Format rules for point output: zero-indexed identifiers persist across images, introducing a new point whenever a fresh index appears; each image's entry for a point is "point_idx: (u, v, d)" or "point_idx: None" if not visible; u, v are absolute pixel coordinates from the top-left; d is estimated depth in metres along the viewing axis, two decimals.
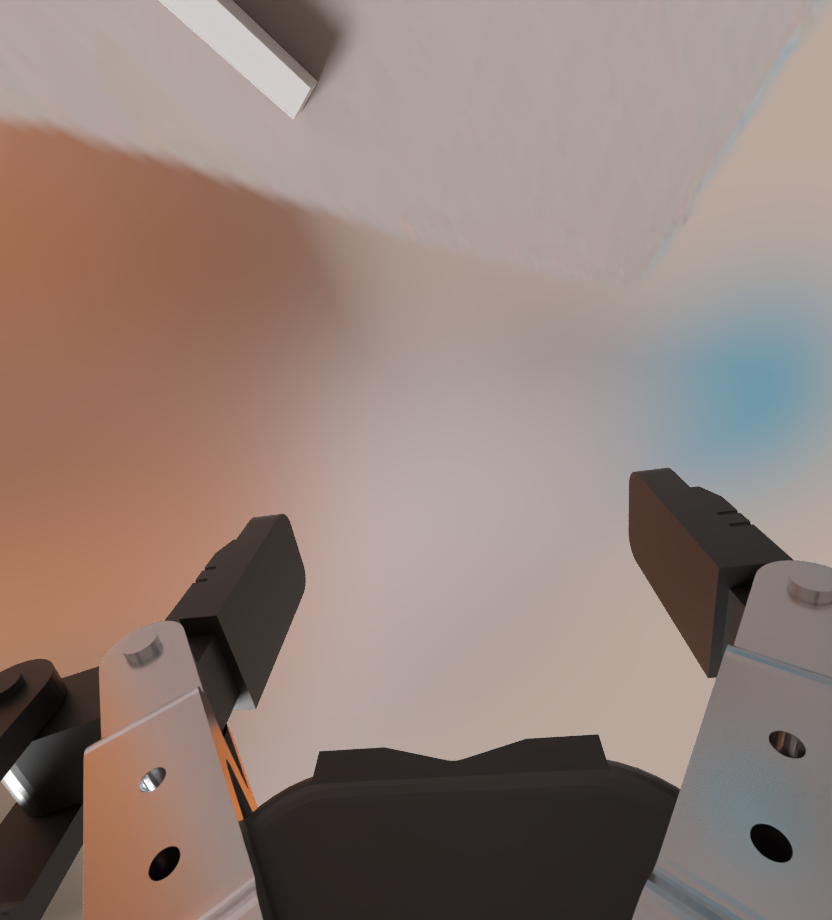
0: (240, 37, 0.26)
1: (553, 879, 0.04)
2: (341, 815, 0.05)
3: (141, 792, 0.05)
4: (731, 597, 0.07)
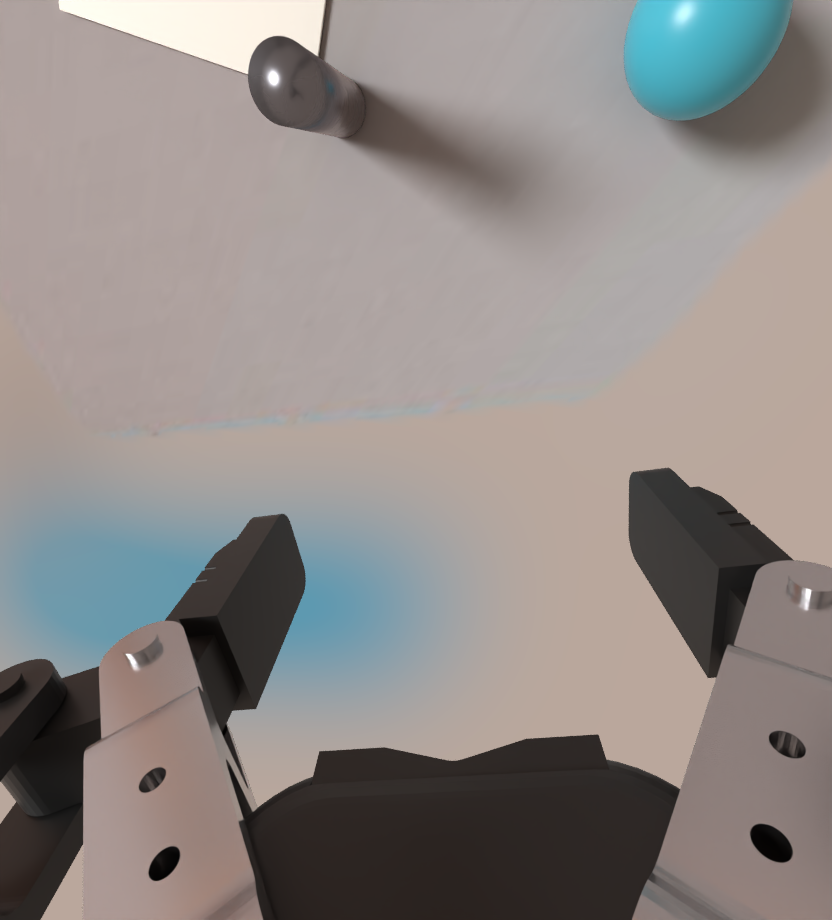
0: None
1: (553, 879, 0.04)
2: (341, 815, 0.05)
3: (141, 791, 0.05)
4: (731, 597, 0.07)
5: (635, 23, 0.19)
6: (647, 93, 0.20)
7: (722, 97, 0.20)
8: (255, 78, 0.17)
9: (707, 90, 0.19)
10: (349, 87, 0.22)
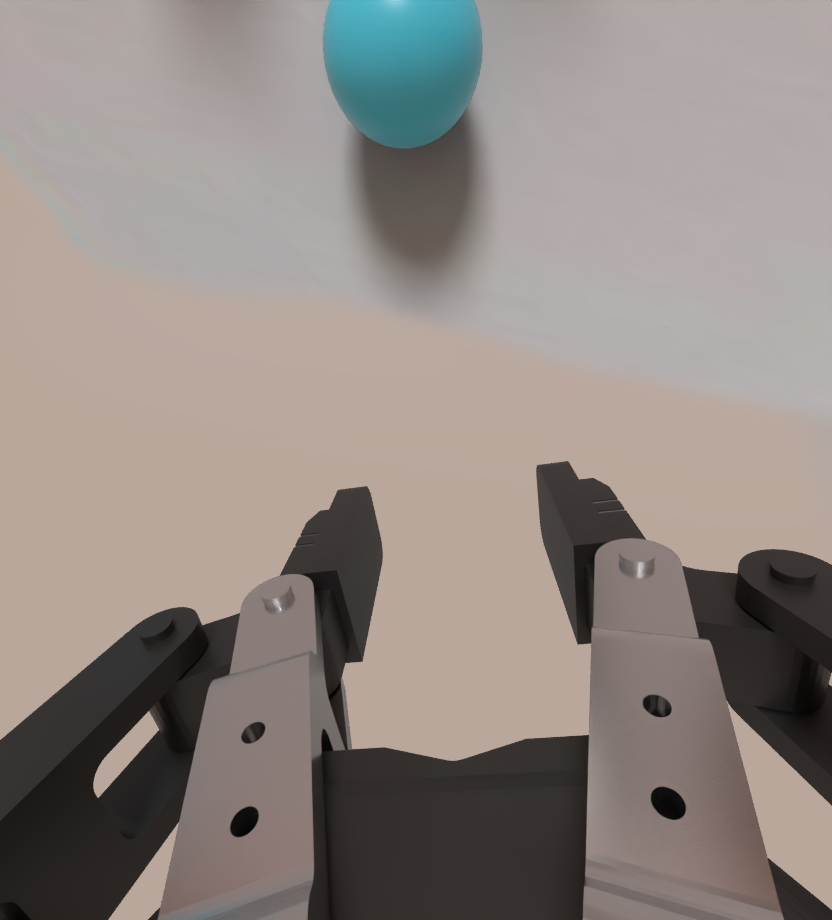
0: None
1: (553, 879, 0.04)
2: (341, 815, 0.05)
3: (242, 740, 0.05)
4: (587, 571, 0.08)
5: None
6: (325, 16, 0.17)
7: (352, 100, 0.18)
8: None
9: (344, 67, 0.17)
10: None
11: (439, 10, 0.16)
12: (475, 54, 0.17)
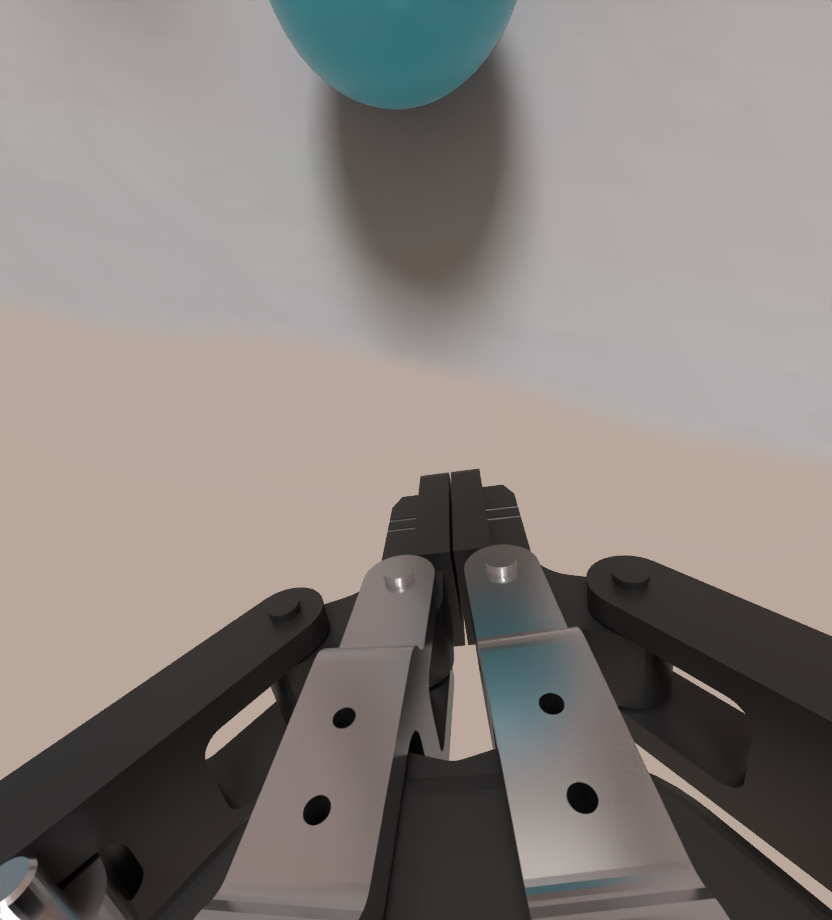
0: None
1: None
2: None
3: (333, 721, 0.05)
4: None
5: None
6: None
7: (303, 16, 0.10)
8: None
9: None
10: None
11: None
12: None
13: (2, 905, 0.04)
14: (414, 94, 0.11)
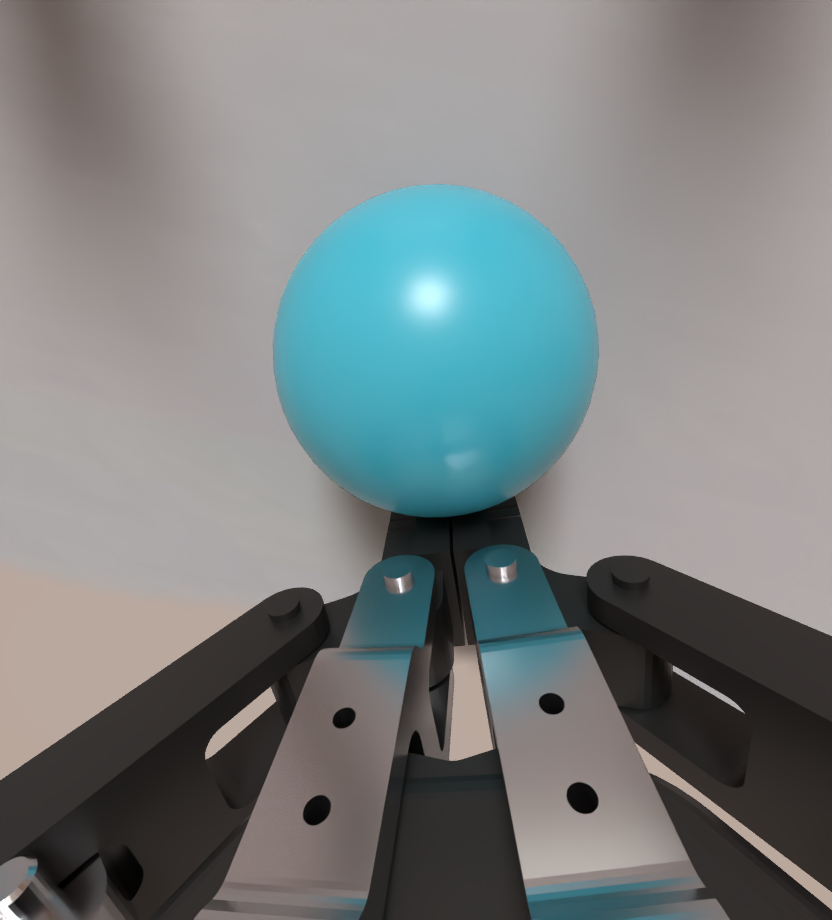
0: None
1: None
2: None
3: (334, 721, 0.05)
4: None
5: (380, 196, 0.08)
6: (278, 310, 0.08)
7: (327, 473, 0.09)
8: None
9: (309, 438, 0.08)
10: None
11: (531, 383, 0.07)
12: (585, 412, 0.08)
13: (2, 905, 0.04)
14: None
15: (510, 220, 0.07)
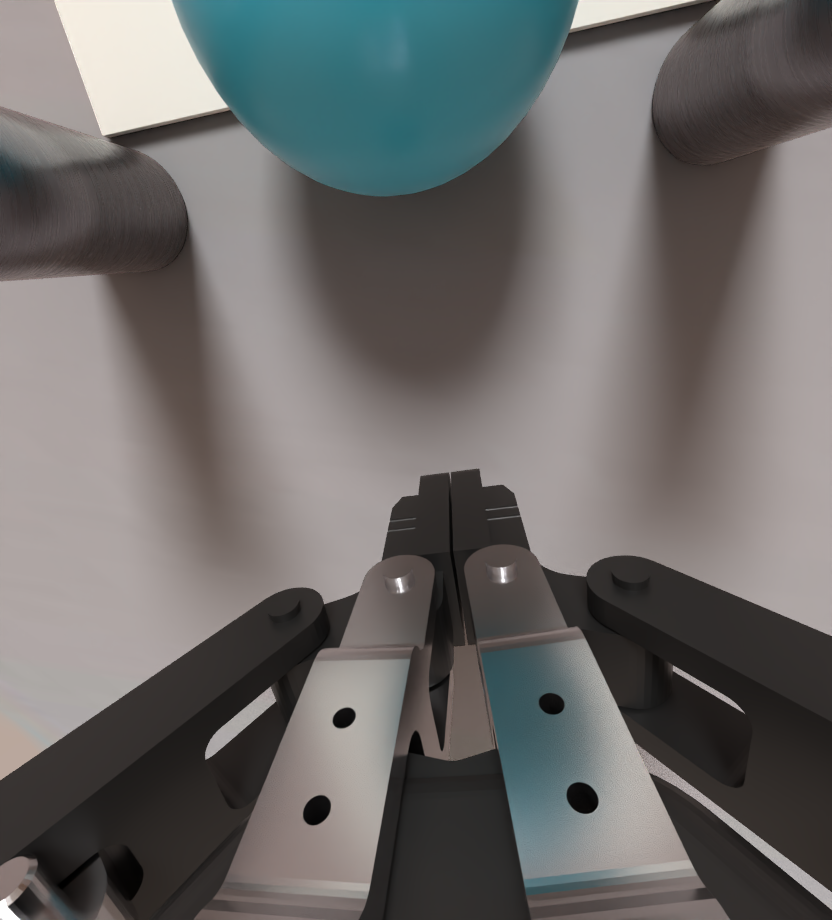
0: None
1: None
2: None
3: (333, 721, 0.05)
4: None
5: (341, 50, 0.06)
6: (183, 11, 0.06)
7: None
8: None
9: None
10: (85, 254, 0.09)
11: None
12: None
13: (2, 905, 0.04)
14: None
15: (467, 145, 0.07)
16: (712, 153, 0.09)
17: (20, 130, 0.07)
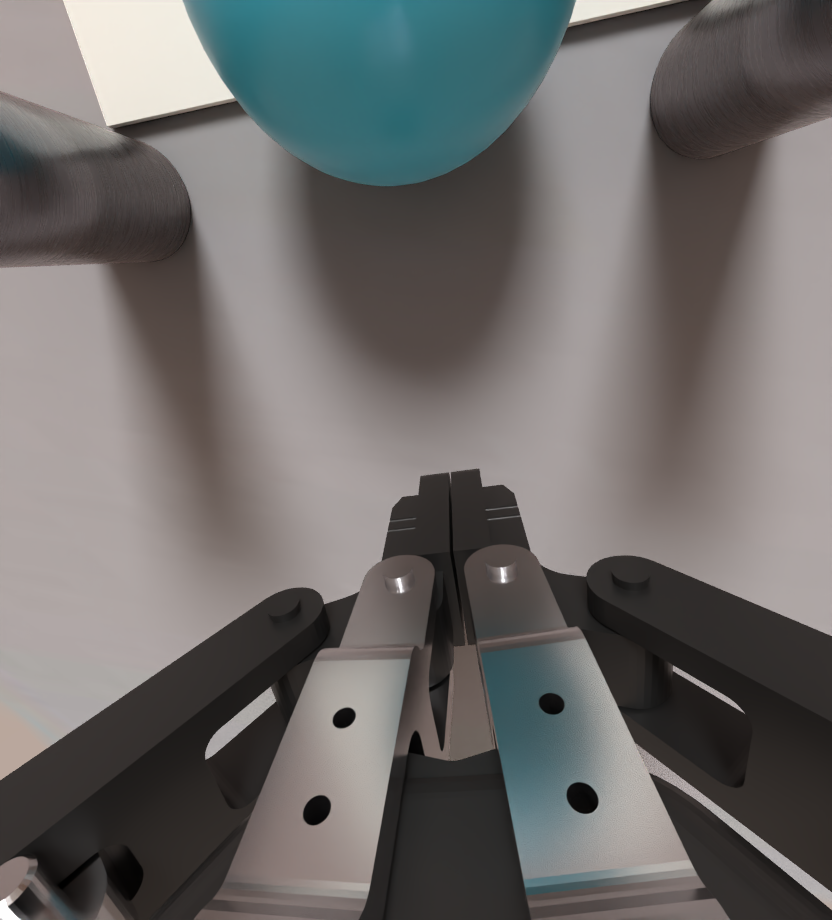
0: None
1: None
2: None
3: (334, 721, 0.05)
4: None
5: (345, 39, 0.06)
6: (190, 0, 0.06)
7: None
8: None
9: None
10: (91, 242, 0.09)
11: None
12: None
13: (2, 905, 0.04)
14: None
15: (468, 135, 0.07)
16: (709, 146, 0.09)
17: (28, 117, 0.07)
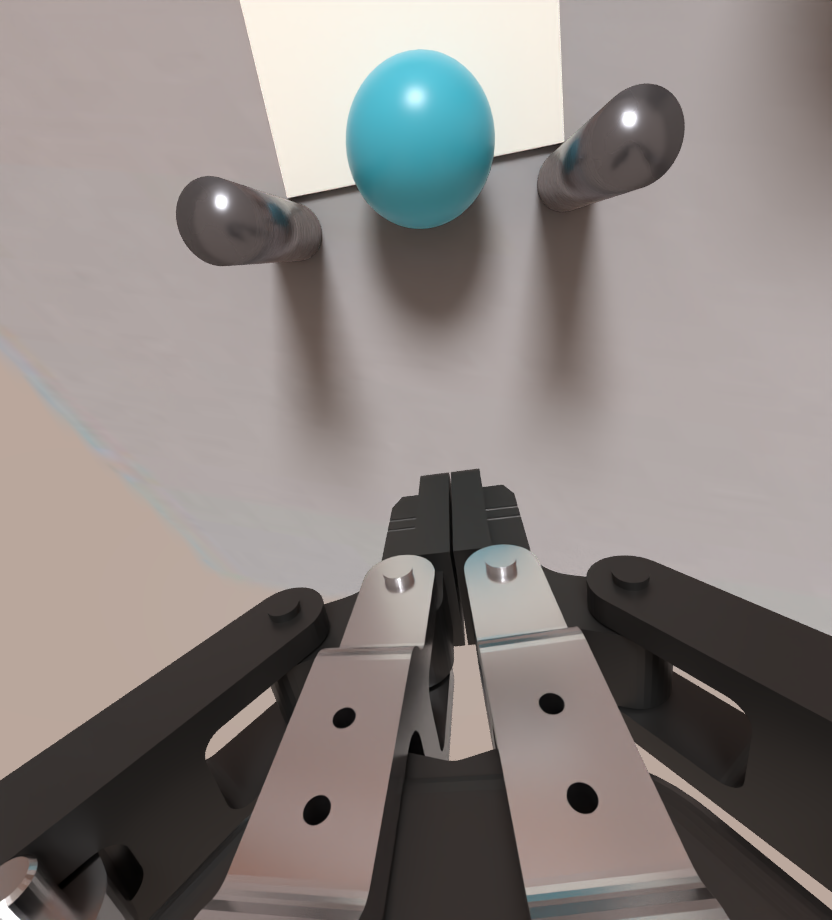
0: None
1: None
2: None
3: (334, 721, 0.05)
4: None
5: (412, 189, 0.18)
6: (357, 171, 0.19)
7: None
8: (201, 188, 0.15)
9: None
10: (297, 252, 0.21)
11: None
12: None
13: (2, 904, 0.04)
14: None
15: (452, 212, 0.19)
16: (560, 208, 0.22)
17: (289, 206, 0.20)
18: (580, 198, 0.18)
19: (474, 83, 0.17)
